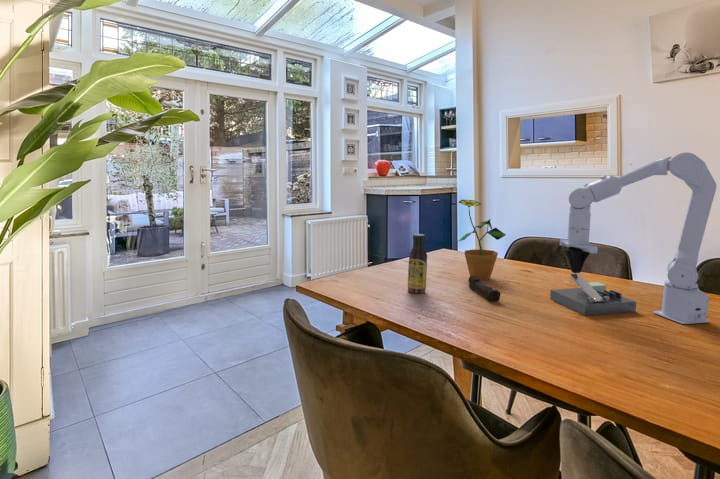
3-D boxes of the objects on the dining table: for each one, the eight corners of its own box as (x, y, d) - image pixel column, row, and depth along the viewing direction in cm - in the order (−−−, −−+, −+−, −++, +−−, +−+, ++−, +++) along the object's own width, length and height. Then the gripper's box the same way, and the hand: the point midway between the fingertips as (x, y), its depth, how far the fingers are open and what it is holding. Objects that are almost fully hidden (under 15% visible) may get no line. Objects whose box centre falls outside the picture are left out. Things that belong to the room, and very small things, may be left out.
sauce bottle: (405, 292, 141) (404, 235, 138) (411, 288, 146) (411, 232, 143) (423, 295, 138) (423, 236, 134) (429, 290, 143) (429, 233, 140)
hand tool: (500, 302, 129) (501, 288, 128) (488, 303, 128) (489, 288, 128) (476, 286, 148) (477, 274, 147) (466, 287, 147) (466, 274, 146)
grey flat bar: (603, 302, 117) (604, 299, 117) (594, 303, 117) (595, 300, 117) (578, 275, 128) (579, 272, 127) (569, 275, 127) (570, 273, 127)
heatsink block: (635, 311, 118) (636, 296, 117) (584, 315, 115) (585, 300, 115) (595, 295, 133) (596, 282, 133) (550, 299, 131) (550, 285, 130)
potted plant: (454, 282, 153) (456, 201, 148) (458, 271, 170) (459, 198, 166) (506, 285, 147) (509, 201, 143) (503, 273, 165) (506, 198, 160)
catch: (606, 291, 127) (606, 285, 127) (585, 292, 126) (585, 286, 126) (596, 288, 131) (597, 281, 131) (576, 289, 130) (577, 283, 130)
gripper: (552, 226, 131) (549, 267, 133) (583, 232, 117) (580, 278, 119) (572, 225, 132) (569, 266, 134) (605, 231, 118) (602, 277, 120)
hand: (576, 272), depth 126 cm, fingers closed
